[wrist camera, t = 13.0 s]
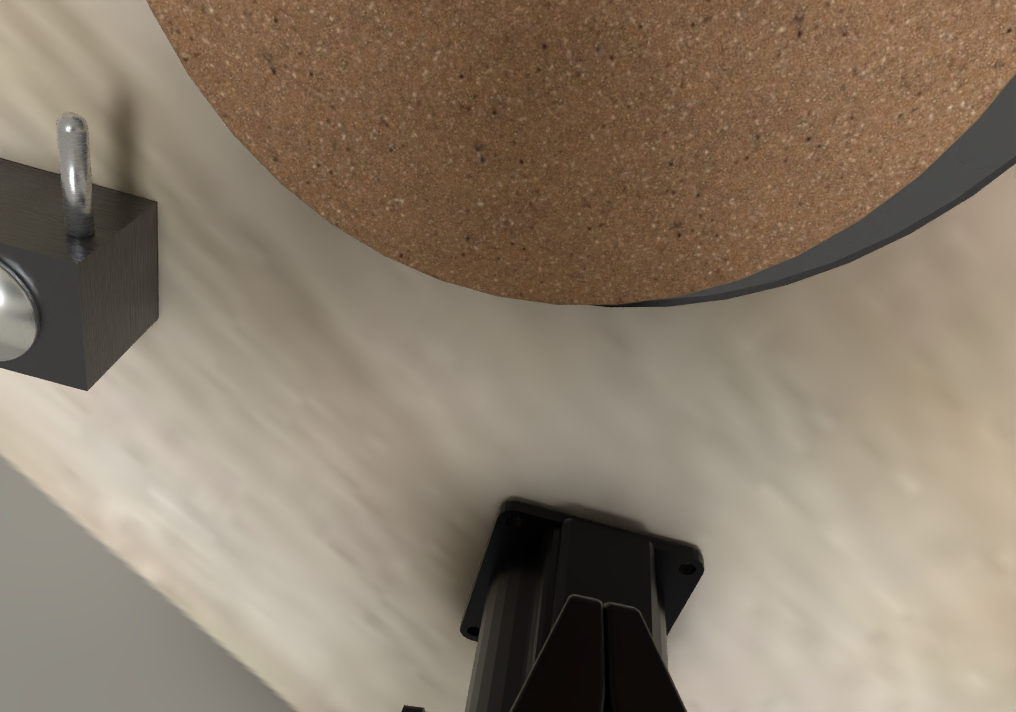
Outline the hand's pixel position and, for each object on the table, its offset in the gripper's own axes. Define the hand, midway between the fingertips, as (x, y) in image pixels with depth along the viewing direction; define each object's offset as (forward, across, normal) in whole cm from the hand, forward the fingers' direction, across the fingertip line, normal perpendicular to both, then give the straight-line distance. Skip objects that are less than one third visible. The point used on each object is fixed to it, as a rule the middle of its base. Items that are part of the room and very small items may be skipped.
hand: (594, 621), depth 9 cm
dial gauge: (+11, +14, +2) cm, 18 cm away
